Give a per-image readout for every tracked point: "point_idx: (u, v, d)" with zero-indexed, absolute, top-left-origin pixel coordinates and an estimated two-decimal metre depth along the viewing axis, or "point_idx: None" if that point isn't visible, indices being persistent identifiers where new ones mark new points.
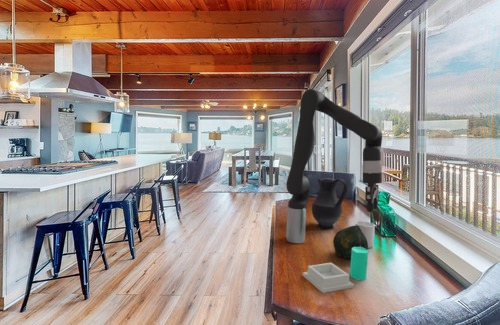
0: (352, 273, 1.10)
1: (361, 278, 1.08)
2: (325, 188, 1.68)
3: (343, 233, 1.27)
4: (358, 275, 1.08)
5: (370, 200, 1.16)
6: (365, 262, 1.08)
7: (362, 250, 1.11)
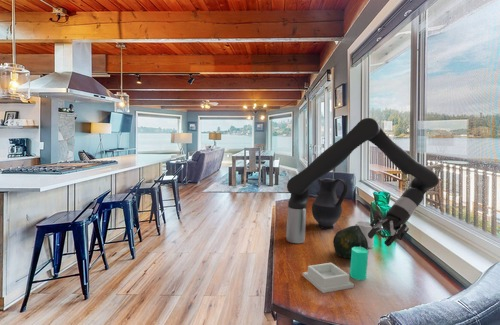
0: (352, 273, 1.10)
1: (361, 278, 1.08)
2: (325, 188, 1.68)
3: (343, 233, 1.27)
4: (358, 275, 1.08)
5: (400, 238, 1.08)
6: (365, 262, 1.08)
7: (362, 250, 1.11)
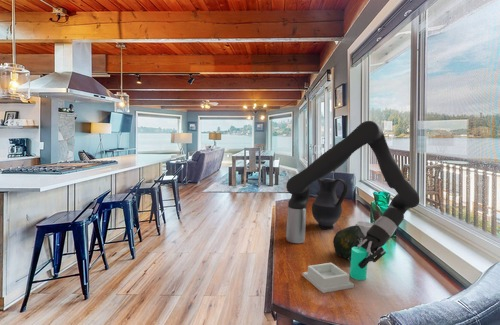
0: (352, 273, 1.10)
1: (361, 278, 1.08)
2: (325, 188, 1.68)
3: (343, 233, 1.27)
4: (358, 275, 1.08)
5: (374, 260, 1.06)
6: None
7: (362, 250, 1.11)
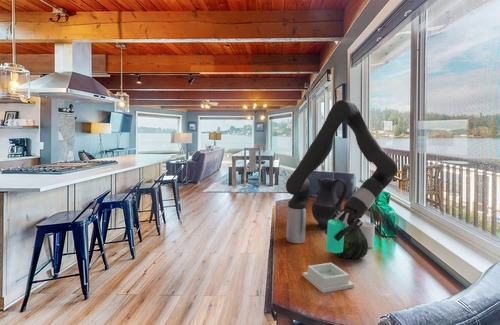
0: (328, 246, 1.05)
1: (337, 251, 1.03)
2: (325, 188, 1.68)
3: None
4: (334, 248, 1.03)
5: (350, 232, 1.01)
6: None
7: (339, 222, 1.06)
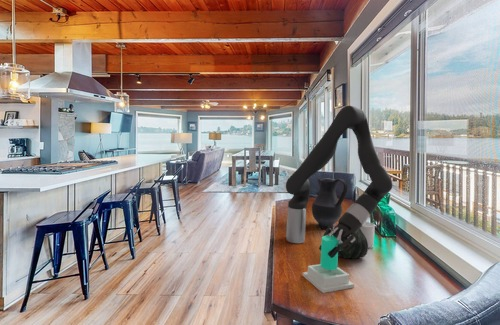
0: (322, 263, 1.04)
1: (331, 268, 1.03)
2: (325, 188, 1.68)
3: None
4: (328, 264, 1.03)
5: (344, 249, 1.01)
6: None
7: (333, 239, 1.05)
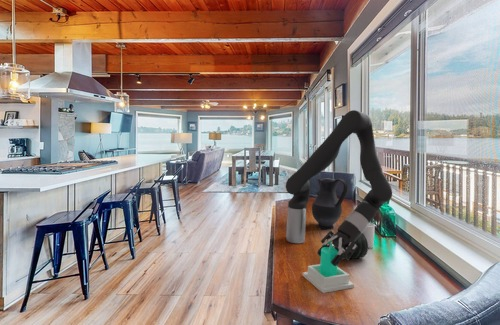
0: None
1: None
2: (325, 188, 1.68)
3: None
4: (327, 276, 1.03)
5: (347, 258, 1.00)
6: None
7: (332, 250, 1.06)
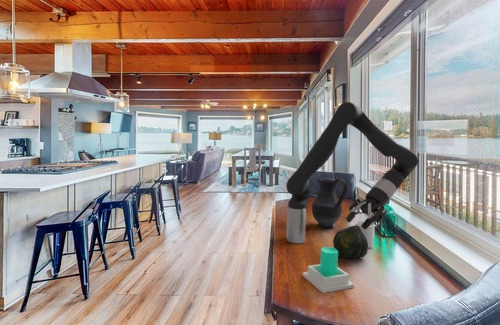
0: None
1: None
2: (325, 188, 1.68)
3: (343, 233, 1.27)
4: (327, 276, 1.03)
5: (378, 220, 1.03)
6: (334, 263, 1.03)
7: (332, 250, 1.06)
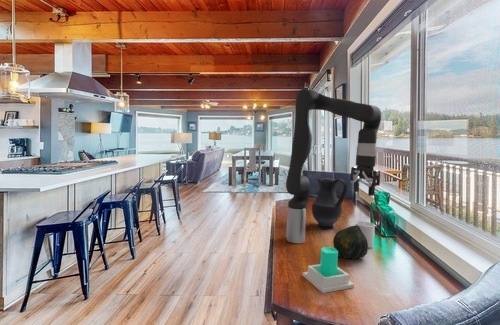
0: None
1: None
2: (325, 188, 1.68)
3: (343, 233, 1.27)
4: (327, 276, 1.03)
5: (378, 184, 1.13)
6: (334, 263, 1.03)
7: (332, 250, 1.06)
